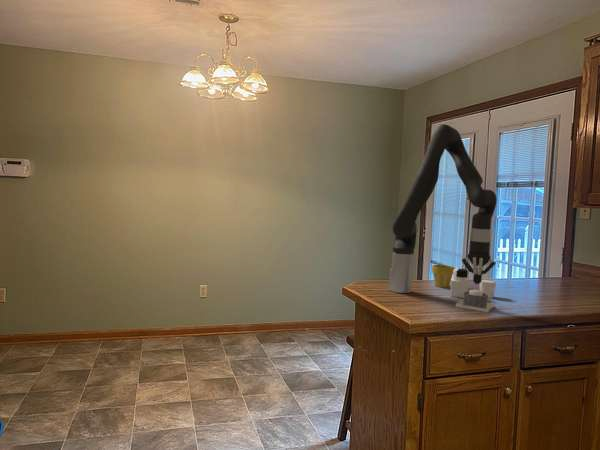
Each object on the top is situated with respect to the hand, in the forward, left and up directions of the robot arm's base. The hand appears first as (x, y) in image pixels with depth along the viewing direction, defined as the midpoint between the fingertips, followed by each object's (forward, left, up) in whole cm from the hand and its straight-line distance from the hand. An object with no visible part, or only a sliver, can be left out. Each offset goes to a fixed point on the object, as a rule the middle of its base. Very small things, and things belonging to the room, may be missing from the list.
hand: (477, 283), depth 180 cm
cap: (0, 0, -8) cm, 8 cm away
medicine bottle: (-10, +16, -10) cm, 21 cm away
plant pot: (-22, +33, -10) cm, 41 cm away
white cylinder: (0, +24, -10) cm, 26 cm away
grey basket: (0, 0, -9) cm, 9 cm away
